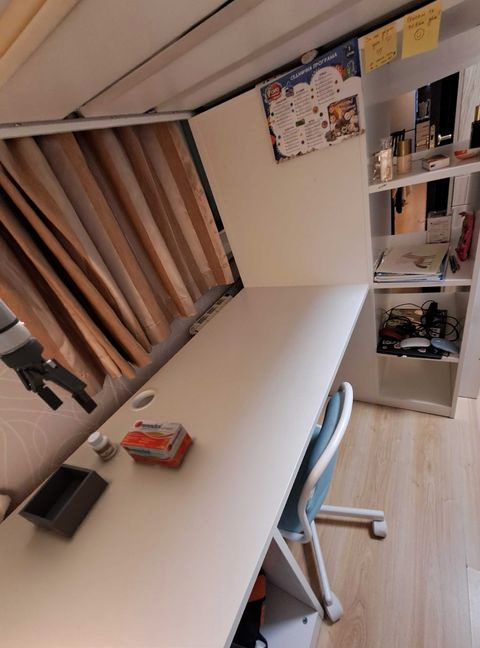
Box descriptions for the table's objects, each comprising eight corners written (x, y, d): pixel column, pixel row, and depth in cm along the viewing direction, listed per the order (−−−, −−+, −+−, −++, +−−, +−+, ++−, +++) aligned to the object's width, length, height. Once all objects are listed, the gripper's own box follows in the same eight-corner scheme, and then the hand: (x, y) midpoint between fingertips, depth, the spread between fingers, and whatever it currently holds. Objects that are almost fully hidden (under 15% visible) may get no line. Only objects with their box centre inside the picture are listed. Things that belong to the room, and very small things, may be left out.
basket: (36, 525, 70) (17, 513, 67) (76, 475, 80) (61, 462, 76) (70, 538, 65) (51, 526, 62) (108, 483, 75) (94, 469, 71)
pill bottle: (104, 463, 81) (87, 446, 77) (100, 454, 84) (84, 438, 80) (118, 451, 83) (103, 435, 78) (114, 443, 86) (99, 427, 82)
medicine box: (193, 440, 79) (181, 421, 74) (179, 468, 72) (164, 450, 68) (150, 436, 84) (136, 418, 80) (133, 462, 78) (117, 444, 74)
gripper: (65, 332, 62) (119, 399, 73) (0, 337, 72) (56, 395, 83) (34, 355, 56) (97, 423, 67) (-32, 357, 66) (34, 416, 77)
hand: (75, 408), depth 75 cm, fingers open, 13 cm apart
